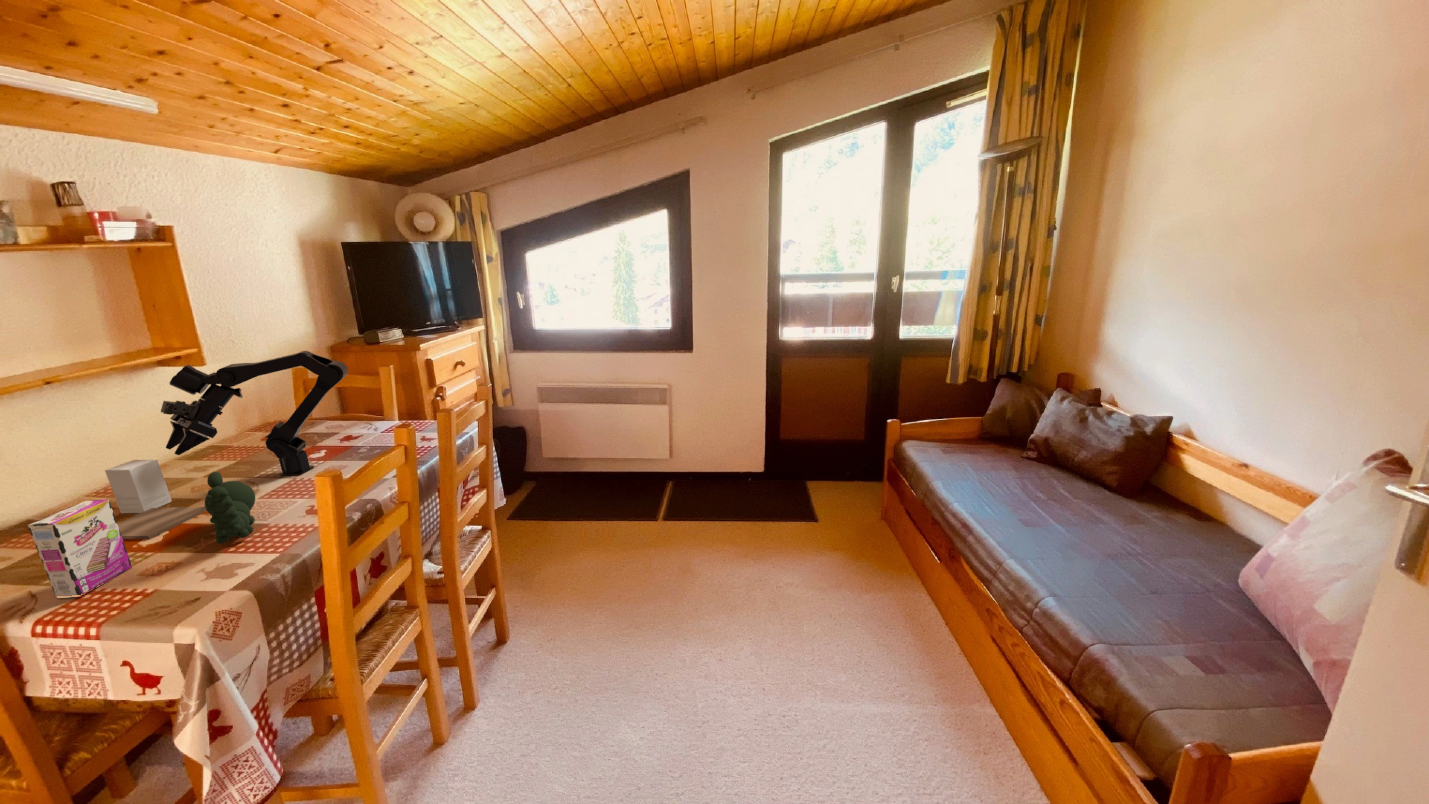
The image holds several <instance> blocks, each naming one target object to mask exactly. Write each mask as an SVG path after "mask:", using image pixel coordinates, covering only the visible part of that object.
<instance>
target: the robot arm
mask: <svg viewBox="0 0 1429 804" xmlns="http://www.w3.org/2000/svg"><path fill="white" fill-rule="evenodd" d="M298 367H303V368H304V369H307V370H308V371H310V372H312V373H313V374H315V375H318V376H317V378H316V381H315V384H314V386H313V387H312V389H311V390H310V391H309V392H308V393H307V395H306V396H305V397H304V399H303V400H302V402H301V403H300V404H299V405H298V406H297V408H296V409H295V411H294V412H292V415H290V417H289V418H288V419H287V420H286V422H284V421H282V420H281V421H279V422H278V423H276V424H275V425H273V427H272V429H271V430H270V432H269V433H268V434H267V435H266V436H265V438H266V440H265V443H264V444H265V445H266V448H267V449H268V450H269V451H270V452H273V454H274V455H275V456H276V457H277V459H278V461H279V466H280V470H281V473H279V474H278V475H279V476H301V475H302V474H304V473H306V472H308V471H310V470H312V469H314V468H315V465H311V464H310V463H309V457H308V454H307V451H306V450H304V449H306V445H307V441H306V440H305V439H302V438H300V437H299V434H300V432H301V430H302V429H301V428H302V426H303V425H304V423H305V422H306V421H307V420H308V418H309V417H310V416H311V414H312V413H313V412H314V410H316V408H317V406H318V405H319V404H320V403H321V402H322V400H323V399H324V398H325V397H326V395H327V394H328V393H329V392H330V390H332V389H333V388H334V387H335V386H336V385H338V383H340V382H341V381H342V380H343V379H344V378H346V377H347V376H348V374H349V369H348V366H347V364H346V363H345V362H342V361H338V360H332V359H329V358H328V357H325V356H324V357H323V356H321V355H318V354H315V353H313V352H310V351H308V350H302V351H300V352H297V353H292V354H288V355H285V356H284V355H283V356H280V357H276V358H271V359H266V360H262V361H259V362H257V361H256V362H239V363H231V364H228V365H225V366H223V367H221V368H219V369H217V370H216V372H215V371H214V372H211V373H209V374H207V373H205V372H203V371H201V370H198V369H197V368H195V367H193V366H192V365H190V364H187V365H184V366H183V367H182V369H180V370H179V371H177V373H176V374H175V375H174V376H172V378H171V379H170V381H169V385H170V386H172V387H174V388H176V389H179V390H181V391H183V392H186V393H188V394H190V395H192V396H194V395H196V394H199V395H201V394H202V395H201V396H200V398H199V399H198V400H193V401H192V402H190V403H187V402H186V401H182V400H181V401H180V400H176V401H170V400H169V401H168V400H163V402H162V405H161V409H160V413H162V414H164V415H170V416H171V417H170V422H169V423H170V424H171V427H172V432H171V434H170V436H169V439H168V441H167V442H166V443H167V444H166V446H165V448H166V449H167V450H172V449H174V448H175V447H176V450H175V451H174V455H177V456H181V455H182V454H184V453H186V452H188V451H189V450H191V449H194V448H195V447H197V446H198V445H200V444H203V443H205V442H206V441H209V440H210V439H214V438H215V437H216V435H217V434H218V430H217V427H214V426H213V424H212V423H213V422H214V420H215V419H216V418H217V417H218V415H219V416H221V415H223V411H222V410H223V409H224V408H225V407H226V405H227V404H228V403H229V402H230V401H231V399H232V398H233V397H234V396H236V397H237V398H239V399H241V398H243V397H244V396H243V394H242V388H240V387H236V388H234V387H235V386H239V384H242V383H245V382H247V381H250V380H251V379H254V378H257V377H260V376H264V375H268V374H272V373H273V374H274V373H276V372H281V371H284V370H289V369H294V368H298Z"/></svg>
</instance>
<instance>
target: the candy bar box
mask: <svg viewBox="0 0 1429 804" xmlns="http://www.w3.org/2000/svg"><path fill="white" fill-rule="evenodd" d="M27 528H28V530H29V533H30V536H31V537H32V540H33V543H34V545H35V548H36V550H37V552H38V555H39V558H40V560H41V563H42V564H43V568H44V570H45V573H46V575H47V578H48V580H49V583H50V585H51V588H52V591H53V594H54V596H55V598H56V597H57V596H72V595H81V594H84V593H85V592H87V591H90V590H91V589H93V588H96V587H97V586H98V585H101V584H102V583H104V584H106V583H107V581H108V580H109V581H111V580H113V579H114V578H116V577H118V576H119V574H120V575H122V574H123V573H125V572H127V571H129V570H130V569H131V568H133V565H132V563H131V559H130V557H129V554H128V550H127V548H126V545H125V542H124V540H123V538H122V536H121V533H120V531H119V527H118V522H117V518H116V517H115V513H114V510H113V508H112V505H111V501H110V499H94V500H85V501H82V502H80V503H77V504H75V505H72V506H71V507H68V508H66V509H64V510H61V511H58V512H56V513H54V514H51V515H49V516H47V517H44V518H42V519H39V520H37V521H35V522H32V523H30V524H28V525H27ZM112 578H113V579H112ZM109 581H108V582H109ZM105 582H106V583H105ZM101 586H102V585H101ZM96 589H97V588H96Z"/></svg>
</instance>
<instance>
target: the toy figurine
mask: <svg viewBox="0 0 1429 804" xmlns="http://www.w3.org/2000/svg"><path fill="white" fill-rule="evenodd" d="M223 481H224V480H223V476H222V474H221V473H220V472H218V471H213V472H211V473H210V474H208V476H207V485H208V486H209V488H210V489H209V490H208V491H207V493H206V496H205V498H204V507H205V508H206V510H207V511H206V512H207V513H208V514H209V515H210V516H211V518H209V519H210V520H209V522H210V523H211V524H213V526H214V531H215V532H214V533H215V541H216V543H218V544H221V545H222V544H226V543H227V542H228V540H229V539H230V538H234V537H239V538H240V539H245V538H247V537H248V536H249V535H250V534H251V533H253V532H254V527H253V526H252V525H253V524H254V523H255V521H256V520H255V517H254V516H253V515H251V511H252V509H253V507H254V506H255V502H256V494H255V491H254V489H253V487H252V486H250V485H248V484H246V483H244V482H242V481H237V480H228V481H224V482H223Z"/></svg>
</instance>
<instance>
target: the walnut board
mask: <svg viewBox="0 0 1429 804" xmlns="http://www.w3.org/2000/svg"><path fill="white" fill-rule="evenodd" d="M205 512H207V510H206V508H205V506H189V507H188V506H184V507H183V506H182V507H181V506H180V507H179V506H178V507H174V506H173V507H158V508H151V509H149V510H147V511H144V512H142V513H137V514H136V515H133V516H131V517H128V518H126V519H125V520H123V521H120V522H117V524H118V527H119V531H120V533H121V536H122V538H123V539H142V541H143V539H144V540H146V539H148V540H152V539H153V538H156V537H157V536H159V535H161V534H163V533H165V532H167V531H169V530H171V529H173V528H175V527H177V526H179V525H182V524H183V523H185V522H187V521H189V520H191V519H192V518H195V517H197V516H199V515H201V514H203V513H205ZM172 527H173V528H172ZM166 530H167V531H166Z"/></svg>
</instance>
